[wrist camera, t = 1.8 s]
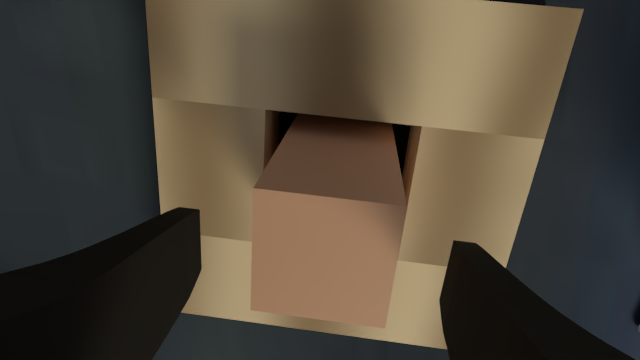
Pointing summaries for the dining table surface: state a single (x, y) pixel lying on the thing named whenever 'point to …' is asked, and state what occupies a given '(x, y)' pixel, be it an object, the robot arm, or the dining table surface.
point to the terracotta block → (328, 222)
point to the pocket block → (363, 104)
